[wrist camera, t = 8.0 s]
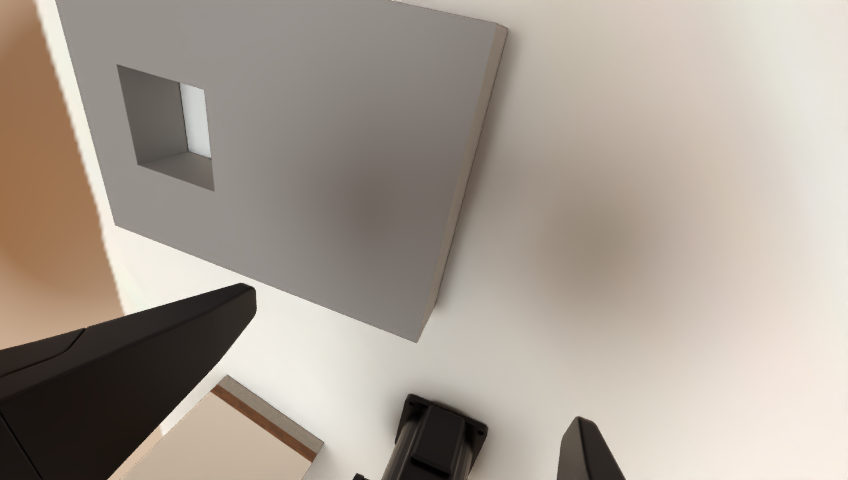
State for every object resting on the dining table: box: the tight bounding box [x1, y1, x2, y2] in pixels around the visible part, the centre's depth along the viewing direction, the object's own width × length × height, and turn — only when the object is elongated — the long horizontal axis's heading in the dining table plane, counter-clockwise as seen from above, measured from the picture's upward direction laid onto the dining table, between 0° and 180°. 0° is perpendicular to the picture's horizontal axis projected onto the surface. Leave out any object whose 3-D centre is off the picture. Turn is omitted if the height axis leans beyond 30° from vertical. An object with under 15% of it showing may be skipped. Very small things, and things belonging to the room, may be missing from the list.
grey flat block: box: [55, 0, 508, 343], centre depth 21 cm, size 16×22×4 cm
